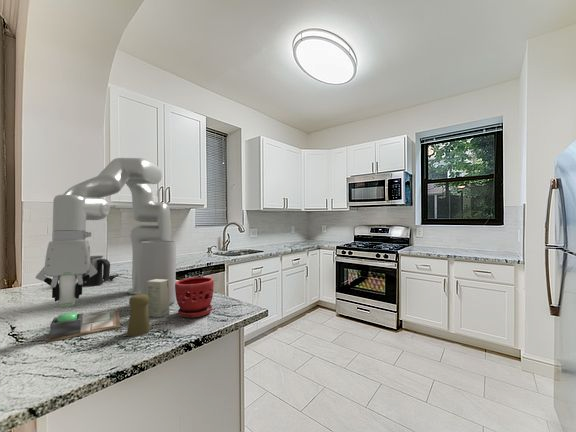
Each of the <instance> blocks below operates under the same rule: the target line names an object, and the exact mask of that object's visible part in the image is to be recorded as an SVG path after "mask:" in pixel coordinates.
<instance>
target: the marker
mask: <svg viewBox="0 0 576 432" xmlns="http://www.w3.org/2000/svg"><path fill="white" fill-rule="evenodd" d="M77 282H78V281H77V276H76V275H73V274H72V272H65V273H63V275H62V276H59V281H58V284H59V300H58V304H60V305H59V306H60V308H69V307H72V306H75V302H76V301H77V299H76V298H75V293H76V285H77Z"/></svg>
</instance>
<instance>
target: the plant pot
mask: <svg viewBox="0 0 576 432" xmlns="http://www.w3.org/2000/svg"><path fill="white" fill-rule="evenodd" d="M213 297H214V278H211V277H208V276H207V277H204V276H203V277H199V276H198V277H190V278H184V279H180V280H178V281H176V282H175V301H176V303H177V305H178V307H179V309H178V310H177V313H178V314H179V315H180V316H182V317H183V318H186V319H187V318H199V317H203V316H205V315H207V314H209V313H210V312H211V311H212V310H213V305H212V304H211V303H212V301H213Z"/></svg>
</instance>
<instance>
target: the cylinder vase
mask: <svg viewBox="0 0 576 432" xmlns="http://www.w3.org/2000/svg"><path fill="white" fill-rule="evenodd" d="M176 264H177V241H176V240H170V241H145V242H142V252H141V294H146V295H147V281H150V280H154V279H166V280H169V306H171V305H172V304H174V303H175V301H176V294H175V283H176V282H177V281H176V276H177V275H176V273H177V272H176V268H177V265H176Z"/></svg>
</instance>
